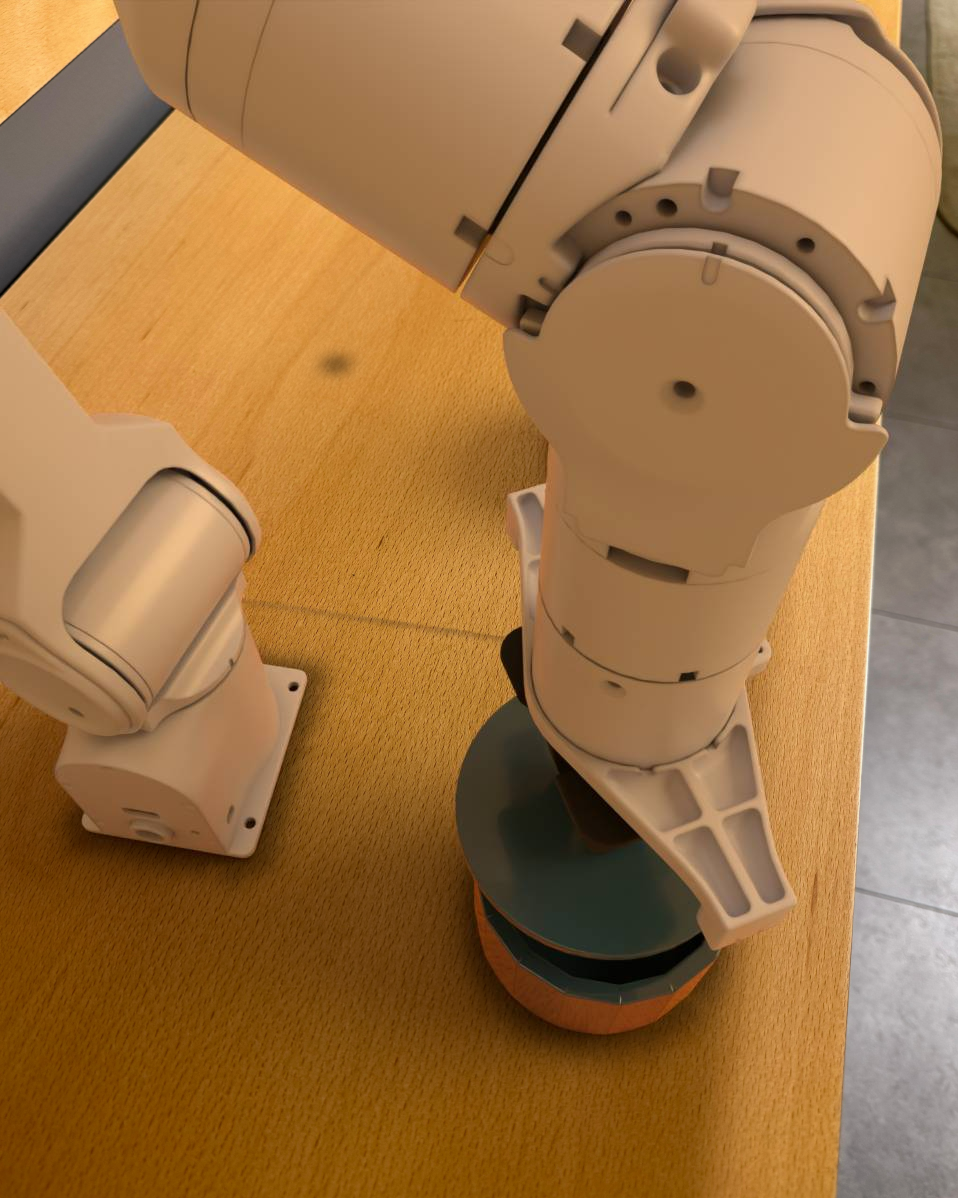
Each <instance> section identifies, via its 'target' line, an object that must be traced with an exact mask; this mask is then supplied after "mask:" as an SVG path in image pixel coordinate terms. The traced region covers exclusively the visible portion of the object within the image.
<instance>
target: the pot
mask: <svg viewBox="0 0 958 1198" xmlns="http://www.w3.org/2000/svg"><path fill="white" fill-rule="evenodd" d="M473 894H474V895H473V898H474V899H473V900H474V902H473V903H474V904H473V905H474V914H475V918H476V923H477V928H478V934H479V938H480V942H481V945H482V950H483V955H484V957H485V959H486V960H487V962H488V964H489V966H490V967H491V969H492V971H493V972H494V974H495V976H496V977H497V979H498V980H499V982H500V983H501V984H502V986H503V987H504V988H505V989H506V991H507V992H508V993H509V994H510V995H511V996H512V997H513V998H514V1000H516V1001H517V1002H518V1003H519V1004H520V1005H521V1006H523V1007H524V1008H526V1009H527V1010H528V1011H529V1012H531V1013H532V1014H534V1015H535V1016H537V1017H539V1018H541V1019H542V1020H544V1021H546V1022H547V1023H550V1024H552V1025H554V1026H557V1027H560V1028H562V1029H565V1030H569V1031H573V1032H575V1033H576V1032H577V1033H581V1034H592V1035H603V1036H604V1035H614V1034H618V1033H620V1034H621V1033H627V1032H631V1031H633V1030H636V1029H639V1028H642V1027H645V1026H647V1025H651V1024H653V1023H656V1022H657V1021H658V1020H660V1018H662V1017H663V1016H665V1015H666V1014H668V1013H669V1012H670V1011H671V1010H672V1009H674V1008H675V1007H676V1006H677V1005H678V1004H679V1003H680V1002H682V1001H683V1000H684V999H685V998H686V997H688V996H689V995H690V994H691V993H692V992H693V990H694V989H695V987H696V986H698V984H699V982H700V981H701V980H702V978H703V977H704V976H705V975H706V973H707V972H708V971H709V970H710V968H711V967H712V966H713V964H714V963H715V962H716V960H717V959H718V958H719V956H720V954H721V952H722V950H723V948H720V949H718V950H714V951H713V950H711V948H710V947H709V945H708V942H707V940H706V938H705V936H704V934H703V932H702V931H701V932H700V933H699V934H697V935H696V936H694V937H693V938H691V939H690V940H688V941H686V942H684V943H682V944H680V945H678V946H676V947H674V948H672V949H670V950H667V951H664V952H661V953H658V954H655V955H651V956H647V957H641V958H635V959H628V960H602V959H593V958H585V957H581V956H577V955H573V954H569V953H565V952H563V951H560V950H557V949H555V948H552V947H550V946H547V945H545V944H543V943H541V942H540V941H538V940H536V939H534V938H532V937H530V936H528V935H527V934H526V933H524V932H523V931H521V930H520V929H519V928H517V927H516V926H514V925H513V924H512V923H510V922H509V921H508V920H507V919H506V918H505V917H504V916H503V915H502V914H501V913H500V912H499V911H498V910H497V909H496V908H495V907H494V906H493V905H492V904H491V902H490V901H489V900H488V899H487V898H486V896H485V895H484V894H483V893H482V891H481V889H480V888H479V886H478V885H477V883H476V881H475V880H474V879H473Z"/></svg>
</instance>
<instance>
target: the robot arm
mask: <svg viewBox="0 0 958 1198" xmlns="http://www.w3.org/2000/svg"><path fill="white" fill-rule="evenodd" d="M112 2H113V5H114V8H115V11H116V13H117V16H118V19H119V22H120V25H121V28H122V30H123V34H124V37H125V39H126V42H127V45H128V48H129V50H130V52H131V53H130V54H131V55H132V57H133V60H134V62H135V64H136V67H137V69H138V71H139V73H140V76H141V77H142V79H143V80H144V82H145V84H146V86H147V87H148V88H149V90H150V91H151V92H152V93H153V94H154V95H155V96H156V97H157V98H158V99H160V100H162V101H163V102H164V103H166V104H167V105H169V106H171V107H172V108H173V109H175V110H177V111H178V112H180V113H181V114H183V115H184V116H185V117H188V119H190V120H192V121H193V122H195V123H197V124H198V125H199V126H200V127H202V128H203V129H205V130H206V131H207V132H209V133H210V134H212V135H213V136H215V137H217V138H218V139H219V140H221V141H223V142H224V143H225V144H227V145H229V146H230V147H231V148H233V149H235V150H236V151H237V152H239V153H241V154H242V155H243V156H245V157H246V158H248V159H250V160H252V161H253V162H254V163H256V164H258V165H259V166H260V167H262V168H263V169H265V170H266V171H268V172H270V173H271V174H272V175H274V176H276V177H277V178H278V179H280V180H282V182H285V183H286V184H288V185H289V186H290V187H292V188H293V189H295V190H297V191H298V192H300V193H301V194H303V195H305V196H306V197H307V198H309V199H310V200H312V201H313V202H315V203H316V204H318V205H319V206H320V207H322V208H324V209H325V210H327V211H328V212H330V213H332V214H333V215H334V216H336V217H338V218H339V219H341V220H342V221H344V222H345V223H347V224H348V225H350V227H353V228H354V229H356V230H357V231H359V232H360V233H362V234H363V235H365V236H367V238H369V239H371V240H372V241H374V242H375V243H377V244H378V245H380V246H381V247H383V248H384V249H385V250H387V251H389V252H390V253H392V254H393V255H395V256H397V257H398V258H400V259H401V260H403V261H404V262H406V263H407V264H409V265H410V266H411V267H413V268H415V269H416V270H418V271H420V272H421V273H422V274H423V275H426V276H427V277H428V278H430V279H431V280H433V281H435V282H436V283H437V284H439V285H441V286H442V287H444V288H445V289H446V290H448V291H449V292H451V293H452V294H456V293H457V292H458V290H459V289H460V287H461V286H462V285H463V283H464V282H465V280H466V279H467V280H466V282H465V284H464V286H463V288H462V289H461V292H460V294H459V298H460V299H461V300H463V301H464V302H466V303H467V304H469V305H471V306H472V307H474V308H475V309H477V310H478V311H480V312H481V313H482V314H484V315H486V316H487V317H489V318H490V319H492V320H493V321H495V322H496V323H498V324H499V325H501V326H502V327H504V328H505V330H504V331H503V333H502V348H503V349H502V350H503V354H504V355H503V356H504V360H505V365H506V369H507V373H508V376H509V379H510V383H511V385H512V388H513V389H514V392H515V394H516V396H517V398H518V400H519V402H520V404H521V406H522V408H523V409H524V412H525V413H526V414H527V416H528V417H529V419H530V420H531V422H532V423H533V424H534V426H535V427H536V428H537V430H538V431H539V432H540V433H541V434H542V435H541V436H543V437H544V438H545V439H546V441H547V443H548V447H547V448H548V450H547V460H546V461H547V462H546V481H545V482H544V483H540V484H537V485H534V486H530V487H527V488H523V489H520V490H517V491H513V492H509V493H508V494H507V495H506V525H505V532H506V534H507V536H508V538H509V540H510V542H511V544H512V547H513V549H515V550H516V551H517V552H518V556H519V557H518V558H519V559H518V560H519V582H520V583H519V584H520V587H519V588H520V612H521V613H520V614H521V626H518V627H516V628H514V629H513V630H511V631H510V632H509V633H507V634H506V636H505V637H504V639H503V640H502V643H501V645H500V652H499V658H500V661H501V664H502V666H503V668H504V671H505V673H506V675H507V677H508V679H509V682H510V684H511V686H512V689H513V690H514V693H515V696H516V695H517V698H518V700H519V701H520V702H521V704H523V705H524V706H526V707H527V708H528V709H529V711H530V713H531V716H532V718H533V720H534V722H535V724H536V726H537V727H538V729H539V730H540V732H541V733H542V735H543V736H544V737H545V739H546V741H547V745H548V748H549V751H550V754H551V756H552V758H553V760H554V763H555V765H556V767H557V769H558V771H559V774H560V775H558V776H556V778H555V783H556V785H557V788H558V790H559V792H560V794H561V797H562V799H563V801H564V803H565V806H566V808H567V810H568V812H569V815H570V817H571V819H572V821H573V824H574V826H575V828H576V830H577V832H578V834H579V835H580V837H581V839H582V840H583V841H584V843H585V844H586V845H587V847H588V848H589V849H590V850H591V851H592V852H594V853H598V854H600V855H602V854H604V853H607V852H610V851H612V850H616V849H619V848H622V847H625V846H628V845H630V844H633V843H636V842H638V841H641V840H645V842H646V843H647V844H648V845H649V846H650V847H651V848H652V849H653V850H654V851H655V852H656V853H657V854H658V855H659V856H660V857H661V858H662V859H663V860H664V861H665V862H666V863H667V864H668V865H669V866H670V867H671V868H672V869H673V870H674V871H675V872H676V873H677V874H678V876H679V877H680V878H681V879H682V880H683V881H684V882H685V884H686V885H687V886H688V887H689V888H690V889H691V891H692V892H693V893H694V895H695V896H696V897H697V899H698V900H699V901H700V903H701V906H700V908H699V909H698V912H697V915H696V918H697V922H698V924H699V926H700V928H701V930H702V932H703V934H704V936H705V938H706V940H707V942H708V945H709V947H710V948H711V950H713V951H714V950H718V949H720V948H722V949H723V948H725V947H727V946H730V945H732V944H735V943H738V942H740V941H743V940H745V939H748V938H750V937H753V936H756V935H758V934H760V933H762V932H764V931H767V930H769V929H772V928H775V927H777V926H778V925H780V924H781V923H782V921H784V919H785V918H786V917H787V916H788V915H789V913H790V912H791V911H792V910H793V909H794V908H795V907H796V906H797V904H798V903H799V900H798V898H797V895H796V893H795V892H794V890H793V887H792V885H791V883H790V882H789V879H788V877H787V875H786V873H785V871H784V868H783V866H782V863H781V861H780V857H779V855H778V852H777V848H776V844H775V840H774V835H773V831H772V828H771V827H772V826H771V822H770V815H769V810H768V806H767V805H768V804H767V799H766V794H765V787H764V782H763V776H762V772H761V771H762V770H761V766H760V759H759V753H758V749H757V748H758V747H757V744H756V737H755V731H754V727H753V726H754V725H753V721H752V715H751V709H750V704H749V703H750V702H749V698H748V692H747V687H746V681H747V679H748V678H750V677H753V676H757V675H759V674H761V673H762V672H764V671H765V670H766V668H767V667H768V664H769V663H770V660H771V657H772V655H773V650H772V647H771V644H770V642H769V641H768V638H766V636H767V634H768V631H769V629H770V627H771V625H772V623H773V621H774V619H775V617H776V615H777V612H778V609H779V608H780V605H781V604H782V601H783V599H784V596H785V595H786V591H787V590H788V587H789V585H790V583H791V580H792V579H793V576H794V573H795V571H796V570H797V567H798V565H799V562H800V561H801V558H802V555H803V554H804V551H805V549H806V547H807V544H808V542H809V540H810V537H811V535H812V534H813V531H814V528H815V526H816V524H817V522H818V520H819V518H820V516H821V513H822V511H823V509H824V506H825V504H826V499H828V498H830V497H831V496H833V495H835V494H837V493H838V492H841V490H843V489H845V488H846V487H847V486H849V485H850V484H852V483H853V482H854V481H856V480H857V479H858V478H859V477H860V476H861V475H862V474H863V473H864V472H866V471H867V469H868V468H869V467H871V465H872V464H873V463H874V462H875V460H876V459H877V458H878V456H879V455H880V454H881V453H882V451H883V449H884V447H885V445H886V444H887V442H889V437H890V436H889V433H888V431H887V429H886V428H884V427H883V426H881V425H880V424H876V423H877V422H878V421H879V419H880V417H881V416H882V414H883V413H884V411H885V410H886V406H887V405H888V402H889V398H890V396H891V393H892V391H893V388H894V385H895V382H896V378H897V374H898V371H899V365H900V362H901V357H902V353H903V348H904V345H905V341H906V338H907V333H908V329H909V325H910V321H911V317H912V313H913V310H914V309H913V308H914V304H915V300H916V296H917V292H918V287H919V285H920V279H921V276H922V271H923V267H924V263H925V260H926V255H927V251H928V247H929V243H930V239H931V234H932V231H933V226H934V223H935V219H936V214H937V211H938V207H939V206H938V205H939V202H940V197H941V190H942V179H943V178H942V177H943V171H942V169H943V168H942V164H943V133H942V126H941V122H940V121H941V120H940V116H939V112H938V109H937V106H936V102H935V100H934V97H933V95H932V92H931V90H930V88H929V85H928V84H927V82H926V81H925V79H924V77H923V75H922V74H921V72H920V71H919V69H918V68H917V66H916V65H915V64H914V63H913V62H912V60H911V58H909V56H908V55H907V54H906V53H905V52H904V51H903V50H902V49H901V48H900V47H899V46H898V45H897V44H896V43H894V41H892V40H891V39H890V38H889V37H888V35H887V34H886V32H885V30H884V28H883V27H882V25H881V22H880V21H879V18H878V16H877V15H876V13H875V12H874V11H873V9H871V8H870V6H868V5H867V4H865V3H862V2H861V1H858V0H112ZM262 539H263V533H262V528H261V525H260V521H259V520H258V518H257V515H256V514H255V512H254V510H253V507H252V506H251V504H250V502H249V501H248V499H247V498H246V496H245V495H244V494H243V493H242V491H241V490H240V489H239V487H237V485H236V484H234V483H233V482H232V481H231V480H230V478H228V477H227V476H226V475H225V474H223V473H222V472H221V471H219V470H218V469H217V468H215V467H214V466H212V465H211V464H209V463H208V462H207V461H206V460H204V458H202V457H201V456H200V455H199V454H198V453H197V452H196V451H195V450H194V449H193V448H192V447H191V446H190V445H189V444H188V443H187V442H186V441H185V440H184V438H182V436H181V435H180V433H179V432H178V431H177V429H176V428H175V427H174V425H173V423H170V422H169V421H166V420H163V419H160V418H157V417H153V416H149V415H144V414H140V413H135V412H125V411H124V412H121V411H109V412H107V411H106V412H96V413H95V412H94V413H87V411H86V410H85V409H84V407H82V405H81V404H80V402H79V401H78V400H77V399H76V398H75V396H74V395H73V394H72V393H71V391H70V390H69V389H68V388H67V386H66V385H65V384H64V383H63V382H62V380H61V379H60V378H59V377H58V375H57V374H56V373H55V372H54V370H53V369H52V368H51V366H49V364H48V363H47V362H46V361H45V359H44V358H43V357H42V356H41V354H40V352H39V351H38V350H37V349H36V348H35V347H34V345H33V344H32V343H31V342H30V340H29V339H28V338H27V337H26V335H25V334H24V333H23V332H22V331H21V330H20V328H19V327H18V325H16V323H15V322H14V321H13V319H12V318H11V317H10V316H9V315H8V313H7V312H6V311H5V310H4V308H3V307H2V305H0V683H1V684H2V685H4V686H5V687H6V688H7V689H8V690H9V691H11V692H12V693H13V694H15V695H16V696H17V697H19V698H20V699H22V700H23V701H25V702H26V703H27V704H29V705H30V706H32V707H34V708H35V709H37V710H39V711H40V712H42V713H44V714H45V715H48V716H49V717H51V718H53V719H55V720H56V721H59V722H61V723H63V724H66V725H67V730H66V735H65V738H64V741H63V744H62V747H61V749H60V753H59V755H58V758H57V761H56V764H55V767H54V777H55V778H54V779H55V780H56V781H57V783H58V785H60V787H61V788H62V789H63V790H64V791H65V792H66V793H67V794H68V795H69V798H71V799H72V800H73V801H74V803H75V804H76V805H77V806H78V807H79V808H80V809H81V810H82V811H83V815H82V817H81V825H82V826H83V828H84V829H85V831H88V832H90V833H94V834H101V835H106V836H111V837H118V838H123V839H129V840H136V841H140V842H147V843H153V844H157V845H163V846H169V847H176V848H181V849H185V850H192V851H199V852H204V853H209V854H215V855H219V856H227V857H233V858H239V859H247V858H249V857H251V856H253V854H254V853H255V851H256V850H257V846H258V843H259V840H260V836H261V834H262V830H263V827H264V824H265V821H266V816H267V814H268V811H269V807H270V804H271V802H272V798H273V794H274V791H275V788H276V784H277V782H278V778H279V776H280V771H281V769H282V768H281V767H282V766H283V762H284V759H285V756H286V752H287V749H288V746H289V743H290V740H291V737H292V733H293V730H294V726H295V723H296V720H297V717H298V713H299V710H300V708H301V703H302V700H303V697H304V694H305V690H306V687H307V684H308V676H307V673H306V672H305V671H304V670H301V669H298V668H292V667H286V666H279V665H272V664H266V663H263V661H262V658H261V655H260V653H259V650H258V647H257V645H256V641H255V639H254V637H253V634H252V631H251V627H250V626H249V623H248V621H247V617H246V615H245V612H244V609H243V596H244V593H245V591H246V589H247V587H248V582H247V579H246V576H245V574H244V571H243V568H242V567H243V566H244V564H246V563H249V561H250V560H251V559H252V558H253V557H254V556H255V554H256V553H257V552H258V551H259V549H260V547H261V545H262ZM292 687H297V689H295V690H293V691H291V690H290V689H291V688H292ZM253 821H254V822H255V825H254V826H253V827H251V828H247V824H248V823H250V822H253Z"/></svg>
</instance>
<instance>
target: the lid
mask: <svg viewBox="0 0 958 1198" xmlns="http://www.w3.org/2000/svg"><path fill="white" fill-rule="evenodd" d="M558 775H560V774H559V771H558V769H557V767H556V765H555V763H554V760H553V758H552V756H551V754H550V751H549V748H548V745H547V741H546V739H545V737H544V736H543V735H542V733H541V732H540V730H539V729H538V727H537V726H536V724H535V722H534V720H533V718H532V716H531V713H530V711H529V709H528V708H527V707H526V706H524V705H523V704H521V702H520V701H519V700H518V698H517V695H516V694H515V695H514V696H513V697H511V699H509V700H507V702H505V703H504V704H502V705H501V706H500V707H499V708H498V709H497V710H496V711H494V713H493V714H491V715H490V716H489V718H487V720H486V721H485V722H484V723H483V725H482V726H481V727H480V729H479V730H478V731H477V732H476V734H475V736H474V738H473V739H472V741H471V743H470V744H469V746H468V748H467V750H466V753H465V756H464V758H463V760H462V763H461V766H460V770H459V773H458V776H457V782H456V788H455V796H454V804H455V805H454V811H455V813H454V815H455V816H454V817H455V825H456V832H457V838H458V843H459V845H460V850H461V853H462V856H463V859H464V861H465V864H466V865H467V868H468V870H469V872H470V875H471V877H472V878H473V881H474V880H475V881H476V883H477V885H478V886H479V888H480V889H481V891H482V893H483V894H484V895H485V896H486V898H487V899H488V900H489V901H490V902H491V904H492V905H493V906H494V907H495V908H496V909H497V910H498V911H499V912H500V913H501V914H502V915H503V916H504V917H505V918H506V919H507V920H508V921H509V922H510V923H512V924H513V925H514V926H516V927H517V928H519V929H520V930H521V931H523V932H524V933H526V934H527V935H528V936H530V937H532V938H534V939H536V940H538V941H540V942H541V943H543V944H545V945H547V946H550V947H552V948H555V949H557V950H560V951H563V952H565V953H569V954H573V955H577V956H581V957H585V958H593V959H602V960H628V959H635V958H641V957H647V956H651V955H655V954H658V953H661V952H664V951H667V950H670V949H672V948H674V947H676V946H678V945H680V944H682V943H684V942H686V941H688V940H690V939H691V938H693V937H694V936H696V935H697V934H699V933H700V932H701V931H702V930H701V928H700V926H699V924H698V922H697V918H696V915H697V912H698V909H699V908H700V906H701V903H700V901H699V900H698V899H697V897H696V896H695V895H694V893H693V892H692V891H691V889H690V888H689V887H688V886H687V885H686V884H685V882H684V881H683V880H682V879H681V878H680V877H679V876H678V874H677V873H676V872H675V871H674V870H673V869H672V868H671V867H670V866H669V865H668V864H667V863H666V862H665V861H664V860H663V859H662V858H661V857H660V856H659V855H658V854H657V853H656V852H655V851H654V850H653V849H652V848H651V847H650V846H649V845H648V844H647V843H646V842H645V840H641V841H638V842H636V843H633V844H630V845H628V846H625V847H622V848H619V849H616V850H612V851H610V852H607V853H604V854H602V855H600V854H598V853H594V852H592V851H591V850H590V849H589V848H588V847H587V845H586V844H585V843H584V841H583V840H582V839H581V837H580V835H579V834H578V832H577V830H576V828H575V826H574V824H573V821H572V819H571V817H570V815H569V812H568V810H567V808H566V806H565V803H564V801H563V799H562V797H561V794H560V792H559V790H558V788H557V785H556V783H555V778H556V776H558Z"/></svg>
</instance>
